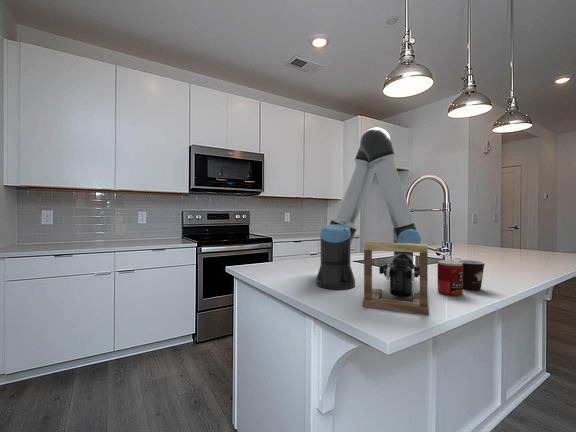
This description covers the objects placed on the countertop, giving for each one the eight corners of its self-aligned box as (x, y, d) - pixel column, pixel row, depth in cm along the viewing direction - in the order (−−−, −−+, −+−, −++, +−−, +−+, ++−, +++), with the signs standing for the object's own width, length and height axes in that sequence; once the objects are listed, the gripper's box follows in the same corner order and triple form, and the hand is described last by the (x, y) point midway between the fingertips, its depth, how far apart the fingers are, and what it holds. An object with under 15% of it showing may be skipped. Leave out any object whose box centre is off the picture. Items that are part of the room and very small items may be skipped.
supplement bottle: (416, 296, 94) (416, 259, 93) (399, 298, 91) (398, 260, 91) (402, 291, 100) (402, 256, 100) (385, 293, 98) (385, 257, 98)
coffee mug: (476, 286, 111) (476, 260, 111) (489, 292, 103) (489, 264, 103) (444, 285, 113) (444, 259, 112) (455, 291, 104) (455, 263, 104)
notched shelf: (370, 294, 101) (370, 239, 101) (427, 300, 94) (427, 241, 94) (362, 306, 88) (362, 244, 88) (428, 315, 80) (428, 246, 80)
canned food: (454, 297, 97) (454, 264, 96) (432, 292, 104) (432, 261, 104) (468, 294, 100) (468, 262, 100) (446, 289, 107) (446, 259, 107)
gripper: (431, 275, 108) (435, 291, 87) (376, 271, 116) (367, 285, 95) (431, 255, 108) (435, 266, 87) (376, 252, 116) (367, 262, 95)
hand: (400, 276), depth 91 cm, fingers closed on supplement bottle, 7 cm apart
